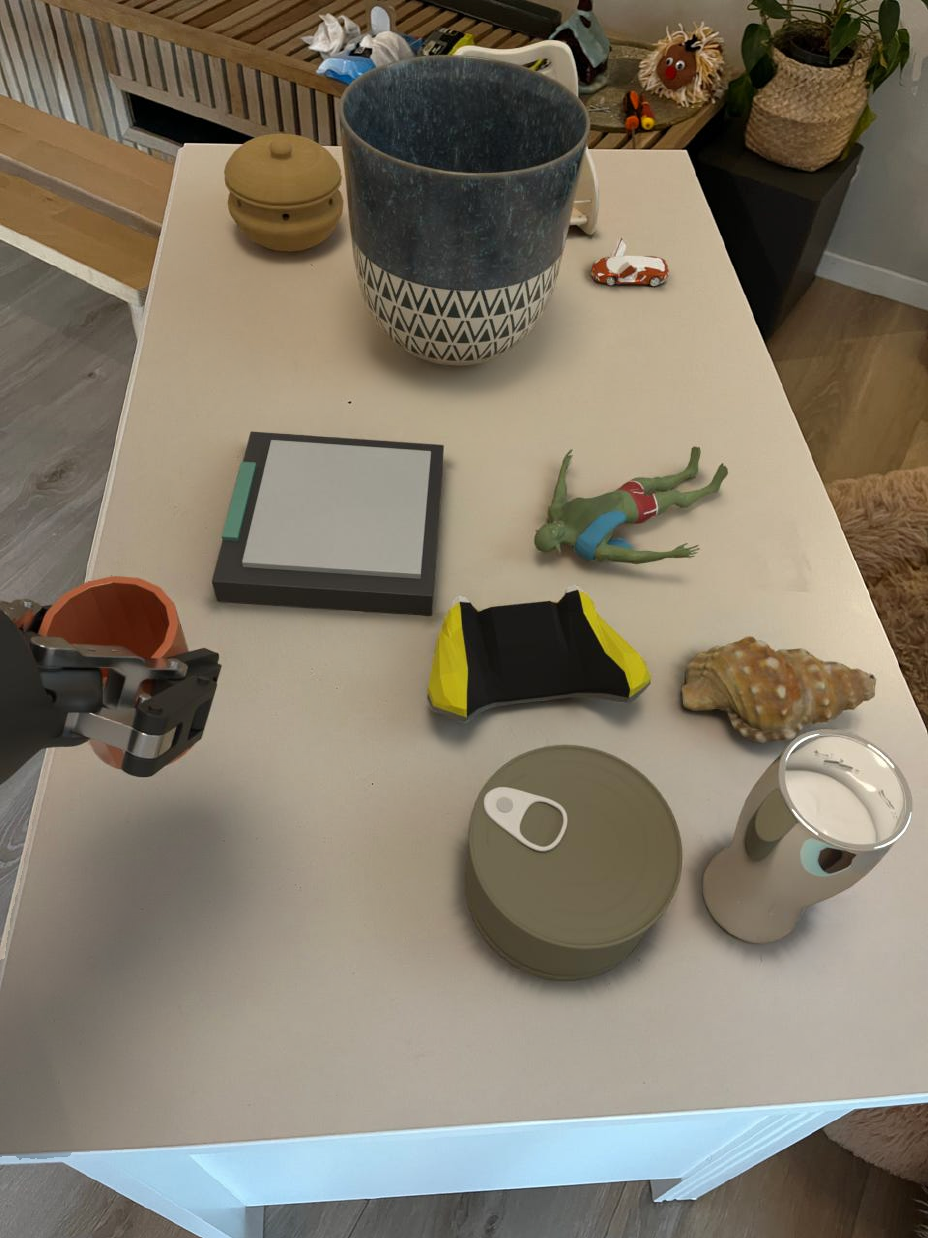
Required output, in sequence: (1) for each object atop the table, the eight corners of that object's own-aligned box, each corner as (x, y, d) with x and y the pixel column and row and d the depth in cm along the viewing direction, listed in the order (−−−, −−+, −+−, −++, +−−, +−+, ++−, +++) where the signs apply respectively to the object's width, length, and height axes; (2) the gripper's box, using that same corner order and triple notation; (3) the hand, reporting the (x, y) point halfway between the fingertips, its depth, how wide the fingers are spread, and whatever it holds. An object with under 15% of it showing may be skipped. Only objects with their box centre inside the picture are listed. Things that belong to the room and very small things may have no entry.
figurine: (784, 500, 71) (604, 584, 64) (772, 539, 74) (598, 625, 67) (650, 410, 81) (480, 476, 74) (643, 448, 83) (479, 515, 76)
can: (613, 1023, 52) (639, 990, 46) (426, 924, 55) (430, 882, 49) (680, 846, 58) (710, 799, 53) (511, 765, 61) (523, 712, 56)
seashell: (754, 670, 71) (865, 618, 63) (775, 771, 67) (895, 729, 60) (666, 647, 66) (774, 588, 59) (683, 755, 63) (800, 706, 55)
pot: (341, 205, 101) (337, 111, 93) (348, 266, 94) (344, 170, 86) (233, 206, 100) (219, 111, 92) (232, 268, 93) (216, 171, 85)
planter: (578, 396, 84) (625, 165, 67) (369, 420, 81) (363, 183, 63) (521, 274, 95) (548, 49, 78) (335, 291, 92) (321, 58, 74)
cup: (72, 768, 44) (18, 679, 38) (105, 668, 48) (61, 571, 41) (192, 776, 44) (159, 689, 38) (216, 676, 48) (190, 581, 42)
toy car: (587, 261, 97) (592, 234, 95) (661, 264, 98) (668, 236, 95) (593, 290, 94) (598, 262, 92) (669, 293, 95) (676, 265, 92)
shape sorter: (566, 189, 106) (593, 18, 92) (595, 240, 100) (629, 64, 86) (399, 201, 102) (400, 24, 88) (419, 254, 96) (423, 74, 82)
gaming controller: (645, 726, 64) (607, 612, 69) (663, 683, 59) (622, 565, 65) (432, 753, 61) (411, 632, 67) (435, 711, 57) (412, 586, 63)
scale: (216, 601, 68) (210, 576, 65) (254, 452, 77) (249, 425, 75) (431, 615, 68) (433, 591, 66) (442, 465, 78) (444, 439, 75)
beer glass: (691, 835, 59) (767, 717, 47) (799, 848, 59) (903, 733, 47) (697, 944, 55) (782, 845, 43) (813, 958, 55) (930, 863, 43)
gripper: (69, 687, 26) (305, 625, 42) (-325, 520, 28) (42, 523, 44) (7, 923, 27) (260, 773, 43) (-366, 742, 29) (6, 665, 46)
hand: (148, 646), depth 44 cm, fingers closed on cup, 6 cm apart
